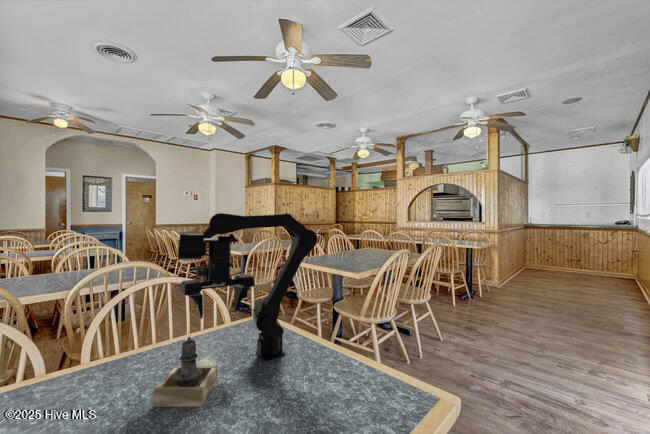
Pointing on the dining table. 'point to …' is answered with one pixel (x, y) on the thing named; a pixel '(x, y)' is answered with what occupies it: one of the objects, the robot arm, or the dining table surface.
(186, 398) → the wooden tray
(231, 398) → the dining table surface
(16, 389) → the dining table surface
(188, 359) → the dark grey chess piece
